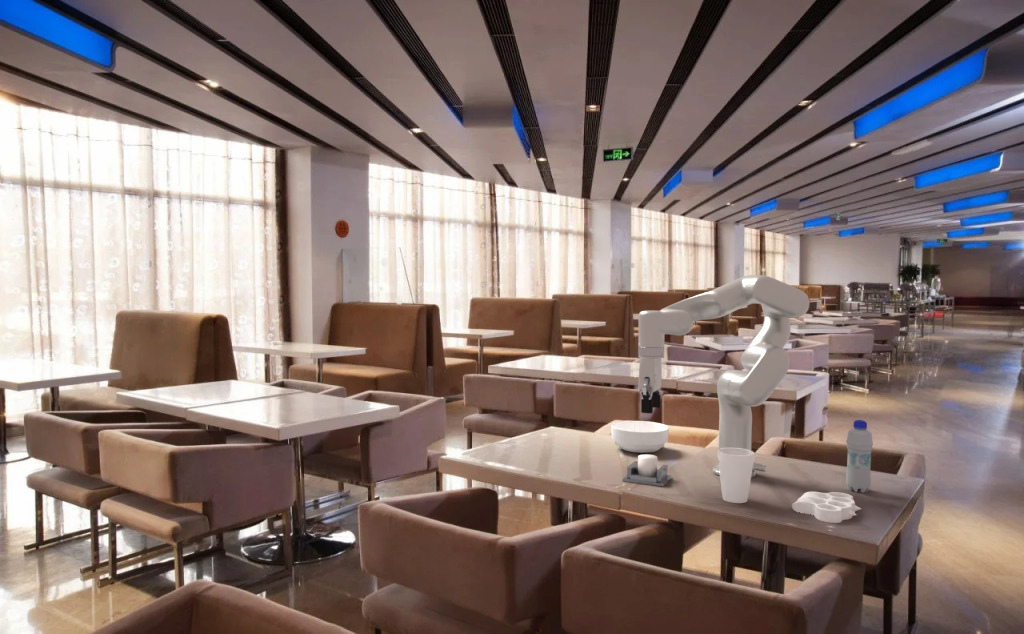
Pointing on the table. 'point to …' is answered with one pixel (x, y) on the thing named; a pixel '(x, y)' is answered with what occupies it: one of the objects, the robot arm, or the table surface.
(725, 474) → the foam cup
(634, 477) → the roll cradle
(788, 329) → the robot arm
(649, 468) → the paper roll
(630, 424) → the bowl
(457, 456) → the table surface
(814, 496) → the white compartment tray
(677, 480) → the table surface
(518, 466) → the table surface
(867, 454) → the bottle
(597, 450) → the table surface
